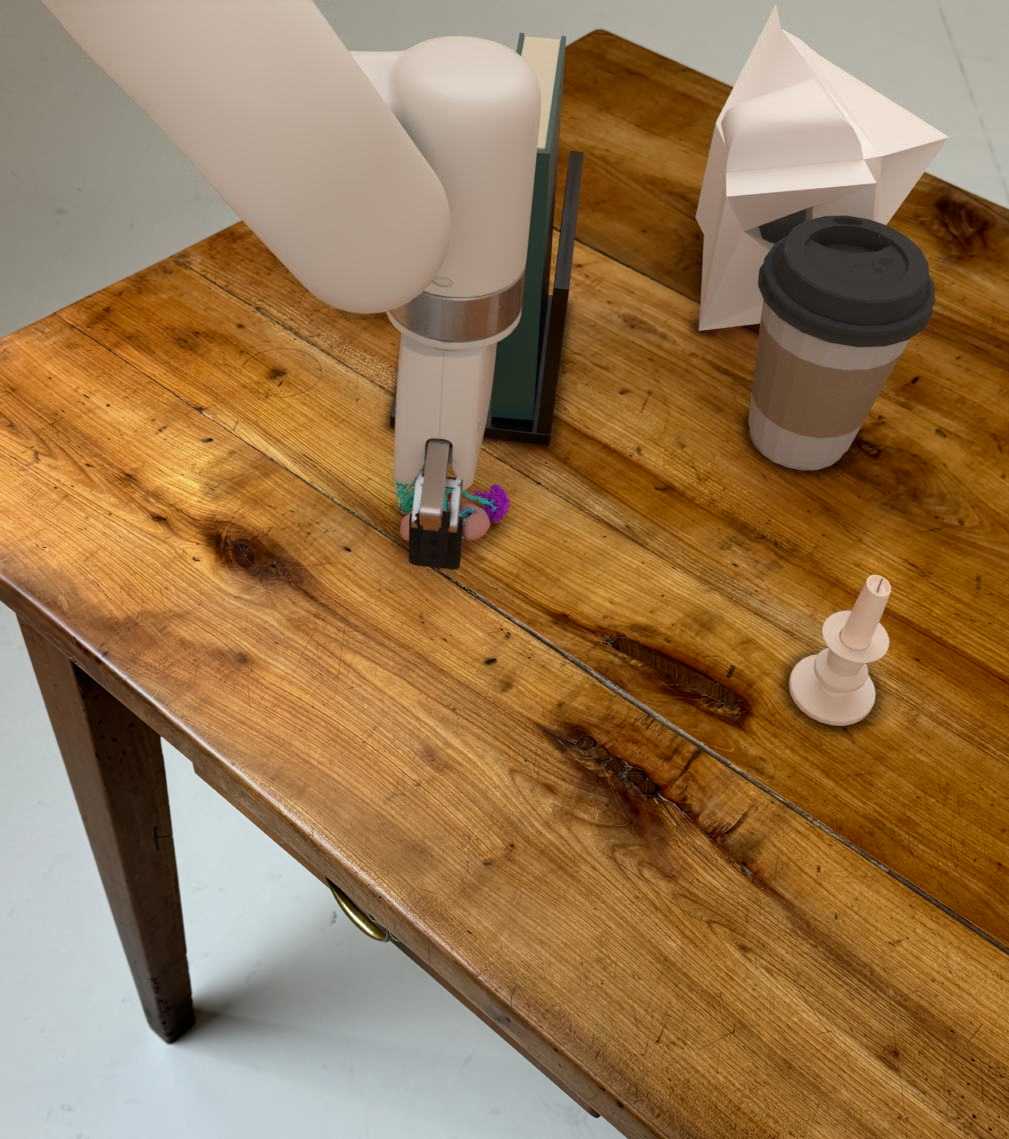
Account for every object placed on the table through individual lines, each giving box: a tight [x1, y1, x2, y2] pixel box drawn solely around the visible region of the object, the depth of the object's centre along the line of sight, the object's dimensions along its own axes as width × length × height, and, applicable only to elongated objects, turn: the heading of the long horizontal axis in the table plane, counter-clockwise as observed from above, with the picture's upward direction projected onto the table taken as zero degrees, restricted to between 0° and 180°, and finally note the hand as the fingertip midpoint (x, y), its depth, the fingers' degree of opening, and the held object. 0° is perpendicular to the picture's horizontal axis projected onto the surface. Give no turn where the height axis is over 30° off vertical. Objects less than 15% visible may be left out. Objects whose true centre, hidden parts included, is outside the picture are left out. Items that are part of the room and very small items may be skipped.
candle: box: [788, 574, 892, 727], centre depth 74 cm, size 5×5×10 cm
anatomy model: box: [392, 461, 511, 542], centre depth 82 cm, size 5×8×7 cm
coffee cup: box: [747, 215, 936, 471], centre depth 86 cm, size 11×11×15 cm
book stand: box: [389, 150, 585, 446], centre depth 90 cm, size 11×16×13 cm
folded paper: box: [694, 4, 950, 332], centre depth 99 cm, size 17×24×17 cm
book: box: [491, 32, 567, 420], centre depth 86 cm, size 20×14×3 cm
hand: (444, 509), depth 83 cm, fingers open, 9 cm apart
